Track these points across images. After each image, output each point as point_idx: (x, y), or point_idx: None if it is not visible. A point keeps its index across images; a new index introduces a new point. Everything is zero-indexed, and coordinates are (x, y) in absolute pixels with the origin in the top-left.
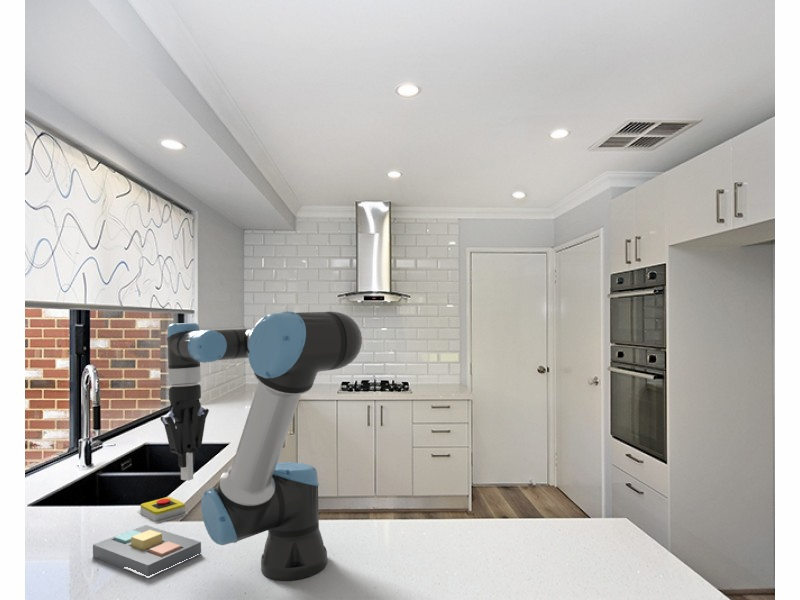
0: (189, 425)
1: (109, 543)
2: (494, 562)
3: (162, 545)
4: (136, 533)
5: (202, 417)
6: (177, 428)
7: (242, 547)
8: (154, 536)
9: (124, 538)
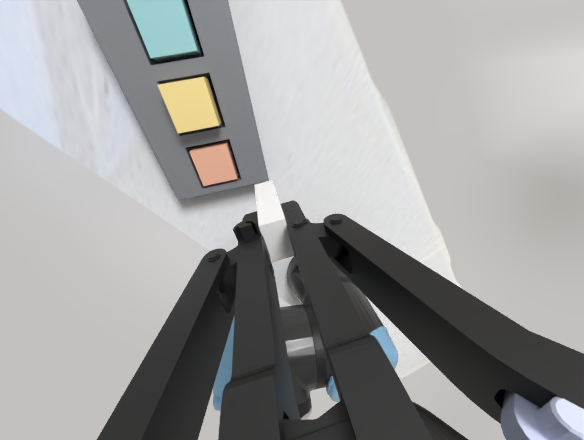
0: (332, 373)
1: (114, 20)
2: (393, 332)
3: (213, 153)
4: (180, 29)
5: (474, 401)
6: (237, 371)
7: (315, 195)
8: (202, 128)
9: (149, 37)
